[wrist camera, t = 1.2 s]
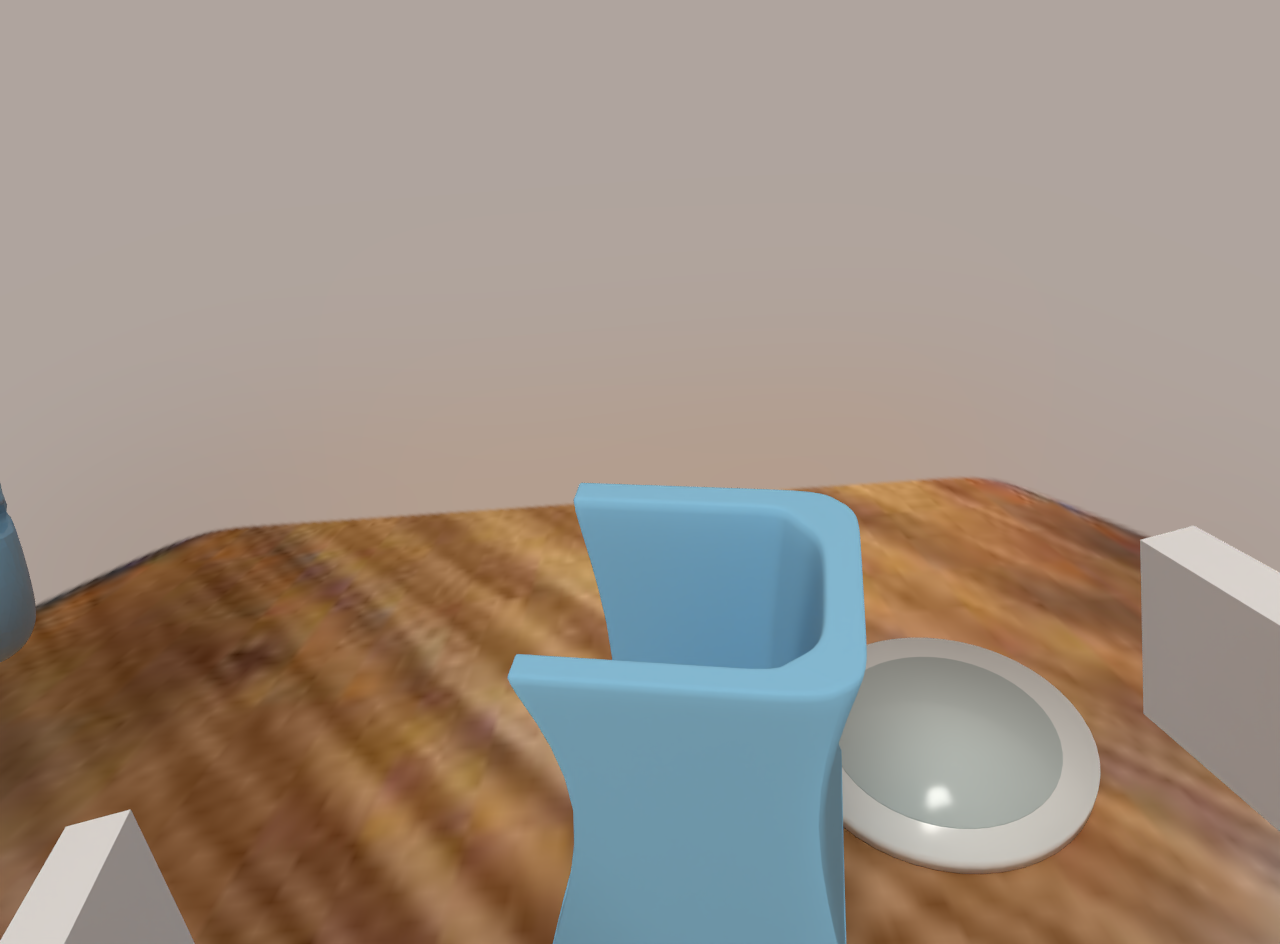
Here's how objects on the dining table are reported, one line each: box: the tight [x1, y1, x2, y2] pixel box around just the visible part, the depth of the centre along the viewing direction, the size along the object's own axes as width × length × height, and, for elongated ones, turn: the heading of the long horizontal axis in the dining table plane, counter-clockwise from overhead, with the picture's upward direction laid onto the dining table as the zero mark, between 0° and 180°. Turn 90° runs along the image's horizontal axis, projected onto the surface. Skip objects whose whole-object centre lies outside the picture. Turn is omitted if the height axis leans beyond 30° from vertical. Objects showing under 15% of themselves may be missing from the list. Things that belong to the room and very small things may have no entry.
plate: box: [839, 638, 1100, 874], centre depth 44 cm, size 13×13×1 cm
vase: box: [508, 483, 867, 944], centre depth 29 cm, size 8×8×20 cm
